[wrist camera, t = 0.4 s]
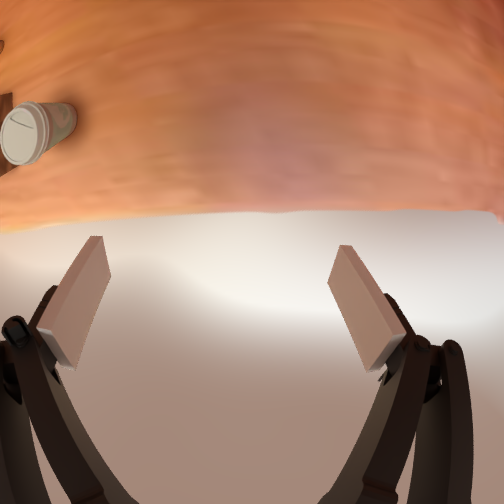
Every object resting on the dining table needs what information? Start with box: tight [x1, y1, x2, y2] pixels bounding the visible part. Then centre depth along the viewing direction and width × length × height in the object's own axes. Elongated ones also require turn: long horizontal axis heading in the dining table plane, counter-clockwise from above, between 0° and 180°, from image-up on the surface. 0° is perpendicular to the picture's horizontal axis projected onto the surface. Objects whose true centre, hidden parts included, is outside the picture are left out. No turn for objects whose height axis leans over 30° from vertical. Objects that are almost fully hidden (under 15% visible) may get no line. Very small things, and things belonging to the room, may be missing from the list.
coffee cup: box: [0, 101, 77, 165], centre depth 25 cm, size 8×8×12 cm
